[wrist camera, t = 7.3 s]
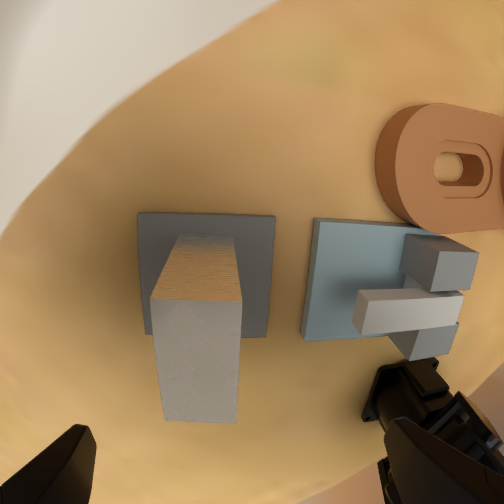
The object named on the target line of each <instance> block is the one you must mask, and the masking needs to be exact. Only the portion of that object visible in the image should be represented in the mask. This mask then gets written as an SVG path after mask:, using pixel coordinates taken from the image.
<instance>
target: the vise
mask: <svg viewBox="0 0 504 504" xmlns="http://www.w3.org/2000/svg"><path fill="white" fill-rule="evenodd" d="M478 255H479V253H478V252H476V251H474V250H472V249H470V248H468V247H466V246H464V245H462V244H460V243H458V242H456V241H454V240H452V239H449V238H447V237H445V236H439V234H435V233H432V232H429V231H427V230H425V229H423V228H420V227H418V226H416V225H414V224H402V223H389V222H376V221H362V220H346V219H330V218H314V228H313V237H312V246H311V255H310V264H309V272H308V280H307V288H306V295H305V303H304V310H303V317H302V324H301V331H300V333H301V335H302V337H303V339H304V341H322V340H340V339H354V338H367V337H379V336H388V337H389V338H390V339H391V340H392V341H393V343H394V344H395V345H396V346H397V347H398V349H399V350H400V351H401V352H402V353H403V355H404V356H405V357H406V358H407V359H408V361H413V360H419V359H425V358H430V357H435V356H441V355H446V354H448V353H449V350H450V348H451V345H452V343H453V340H454V337H455V334H456V332H457V329H458V326H459V323H458V322H457V319H458V316H459V312H460V309H461V306H462V303H463V299H464V295H463V294H461V293H460V292H459V291H457V290H470V287H471V283H472V280H473V276H474V272H475V268H476V264H477V260H478Z"/></svg>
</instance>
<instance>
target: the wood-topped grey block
mask: <svg viewBox="0 0 504 504" xmlns="http://www.w3.org/2000/svg"><path fill="white" fill-rule="evenodd" d="M150 308H151V320H152V330H153V340H154V349H155V357H156V365H157V373H158V380H159V387H160V394H161V400H162V406H163V413H164V418H165V420H166V421H181V422H205V423H236V419H237V398H238V378H239V358H240V338H241V319H242V295H241V289H240V282H239V276H238V269H237V262H236V255H235V248H234V242H233V235H232V234H208V233H180V234H179V237H178V239H177V241H176V243H175V245H174V247H173V249H172V251H171V253H170V255H169V257H168V260H167V262H166V264H165V266H164V268H163V270H162V273H161V275H160V277H159V279H158V281H157V284H156V286H155V288H154V290H153V292H152V295H151V297H150Z"/></svg>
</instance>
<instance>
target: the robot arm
mask: <svg viewBox="0 0 504 504" xmlns="http://www.w3.org/2000/svg"><path fill="white" fill-rule="evenodd" d="M438 364H439V361H438V360H437V359H436V358H432V359H426V360H421V361H415V362H409V363H403V364H396V365H389V366H383V367H381V368H380V369H379V370H378V372H377V375H376V378H375V381H374V384H373V387H372V390H371V392H370V395H369V398H368V401H367V403H366V406H365V409H364V411H363V414H362V416H361V418H362V420H363V422H369V421H375V420H378V421H379V423H380V424H381V426H382V428H383V430H384V432H385V435H384V443H385V447H386V451H387V455H388V456H387V457H386V458H385V459H382V460H380V461H379V462H378V463H377V464H378V469H379V475H380V480H381V485H382V490H383V495H384V501H385V504H504V456H503V455H502V454H501V452H500V451H499V450H498V449H499V448H500V447H501V446H502V445H503V444H504V443H503V441H502V440H501V438H500V436H499V435H498V433H497V432H496V430H495V429H494V427H493V425H492V424H491V422H490V421H489V420H488V418H487V417H486V416H485V415H484V414H483V413H482V412H481V411H480V409H479V408H478V407H477V406H476V405H475V404H474V403H473V402H471V401H470V400H469V399H468V398H467V397H466V396H465V395H463V394H462V393H461V392H460V391H458V392H457V393H456V394H455V395H454V397H453V395H452V394H451V393H450V392H449V391H448V390H449V386H448V384H447V383H446V382H445V381H444V380H443V378H442V377H441V376H440V375H439V374H438V373H437V372H436V369H437V366H438ZM383 372H384V373H383ZM96 448H97V447H96V442H95V439H94V437H93V435H92V433H91V430H90V428H89V427H88V426H86V425H81V424H75V425H73V426H72V427H71V428H69V429H68V430H67V431H66V432H65V433H63V434H62V435H61V436H60V437H59V438H58V439H56V440H55V441H54V442H53V443H52V444H50V445H49V446H48V447H47V448H46V449H44V450H43V451H42V452H41V453H40V454H38V455H37V456H36V457H35V458H34V459H32V460H31V461H30V462H29V463H28V464H26V465H25V466H24V467H23V468H21V469H20V470H19V471H18V472H17V473H15V474H14V475H13V476H12V477H11V478H9V479H8V480H7V481H6V482H4V483H3V484H2V487H1V486H0V504H88V503H89V499H90V494H91V489H92V481H93V472H94V464H95V456H96Z"/></svg>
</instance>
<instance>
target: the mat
mask: <svg viewBox="0 0 504 504" xmlns="http://www.w3.org/2000/svg"><path fill="white" fill-rule="evenodd" d="M275 222H276V217H275V216H272V215H247V214H215V213H169V212H139V213H138V214H137V227H138V251H139V268H140V283H141V295H142V306H143V316H144V325H145V334H147V335H153V330H152V320H151V308H150V297H151V295H152V292H153V290H154V288H155V286H156V284H157V281H158V279H159V277H160V275H161V273H162V270H163V268H164V266H165V264H166V262H167V260H168V257H169V255H170V253H171V251H172V249H173V247H174V245H175V243H176V241H177V239H178V237H179V234H180V233H208V234H232V235H233V242H234V248H235V255H236V262H237V269H238V276H239V282H240V289H241V295H242V319H241V338H258V337H266V330H267V319H268V308H269V296H270V285H271V273H272V261H273V248H274V235H275Z"/></svg>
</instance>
